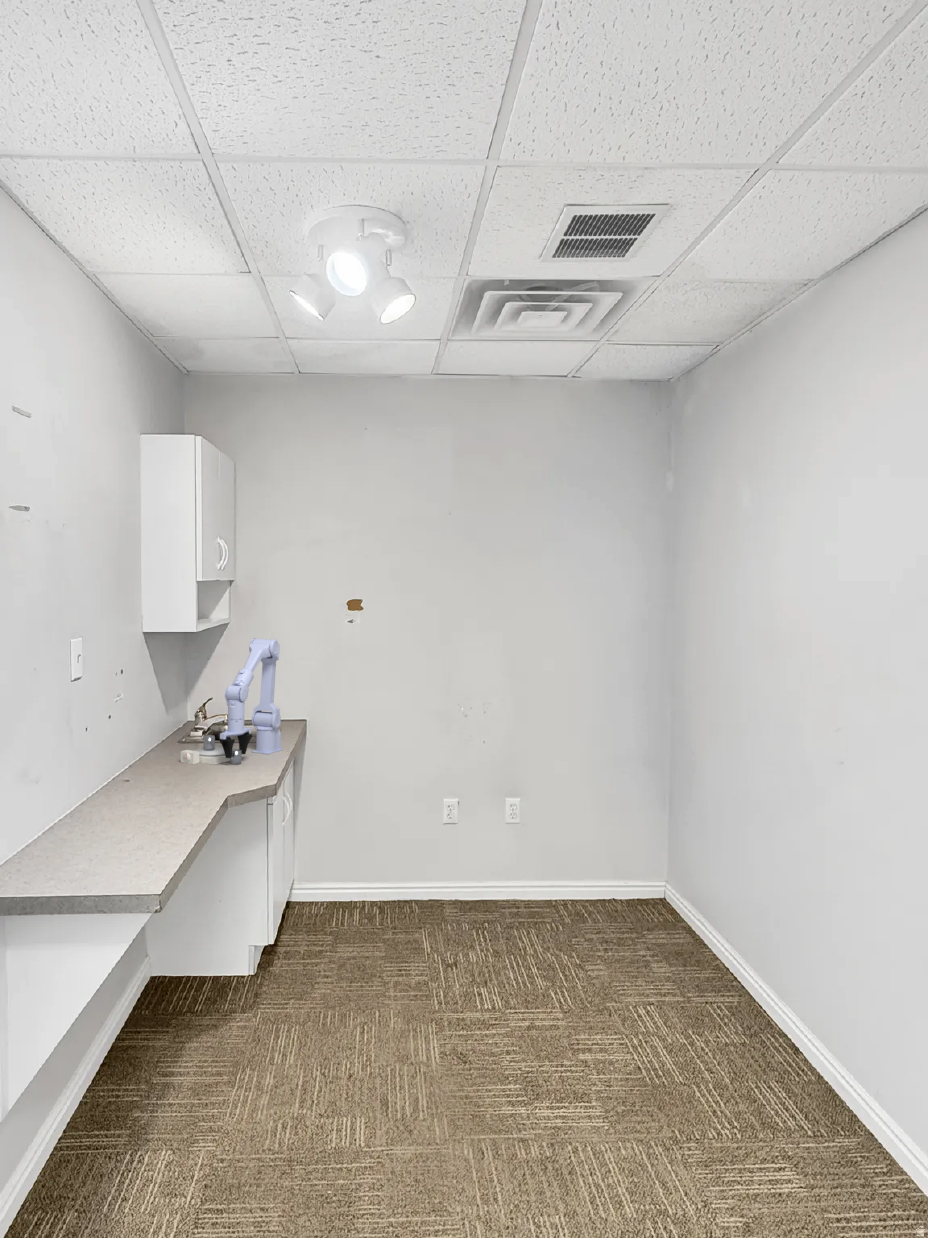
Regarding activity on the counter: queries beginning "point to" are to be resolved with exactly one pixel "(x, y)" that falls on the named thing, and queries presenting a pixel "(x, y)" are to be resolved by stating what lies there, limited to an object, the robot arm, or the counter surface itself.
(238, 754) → the cylinder
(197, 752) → the scale
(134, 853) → the counter surface
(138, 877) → the counter surface
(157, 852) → the counter surface
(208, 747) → the cylinder
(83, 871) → the counter surface
